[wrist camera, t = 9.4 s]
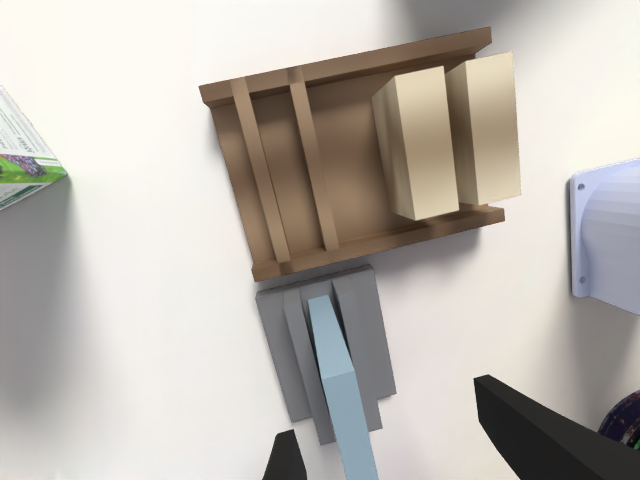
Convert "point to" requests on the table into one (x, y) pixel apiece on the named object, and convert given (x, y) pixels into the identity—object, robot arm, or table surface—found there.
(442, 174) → the offcut
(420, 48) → the rack
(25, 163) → the syrup box
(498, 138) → the offcut
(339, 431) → the tall board
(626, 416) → the storage jar
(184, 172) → the table surface
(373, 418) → the holder
